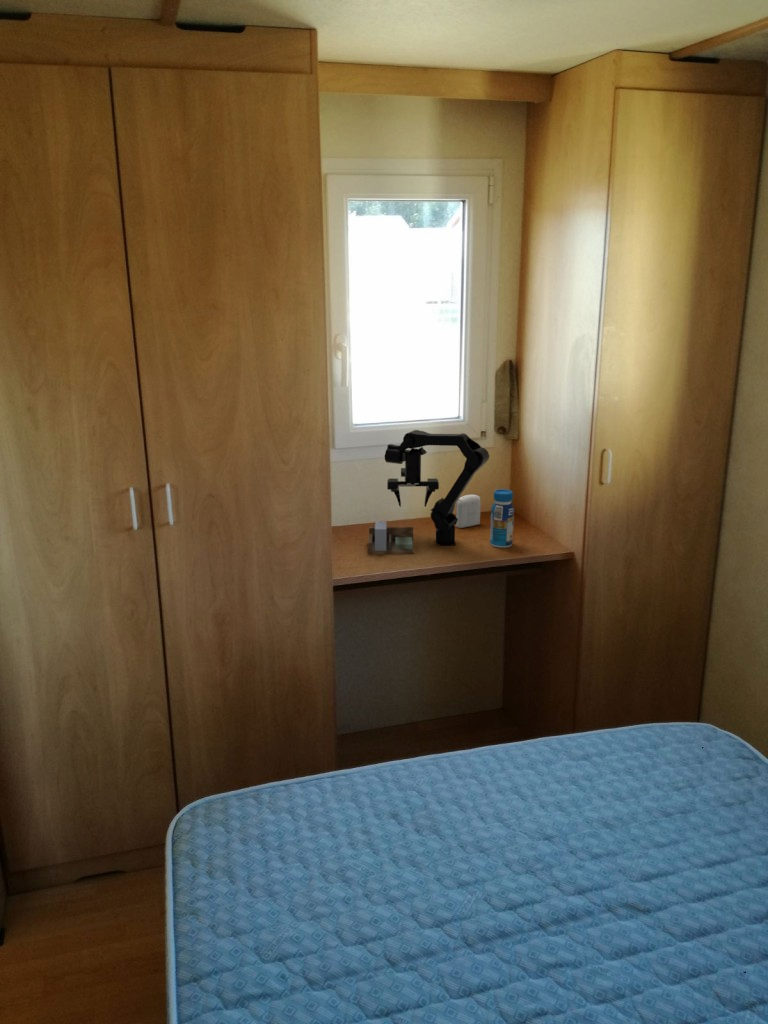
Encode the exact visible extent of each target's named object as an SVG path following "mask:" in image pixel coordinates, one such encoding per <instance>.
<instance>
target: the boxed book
mask: <svg viewBox="0 0 768 1024" xmlns="http://www.w3.org/2000/svg"><path fill="white" fill-rule="evenodd" d="M374 527H375V551H386V543H387V527H388V526H387V521H384V520H381V521H380V520H379V521H378V520H377V521H375V524H374Z"/></svg>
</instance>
